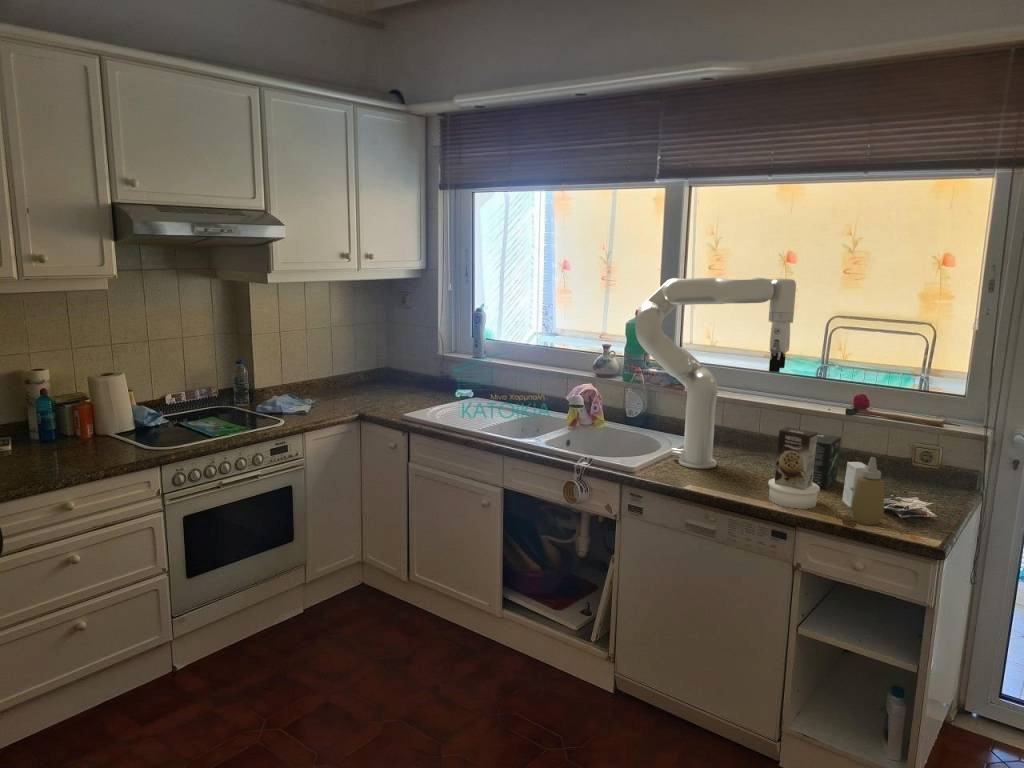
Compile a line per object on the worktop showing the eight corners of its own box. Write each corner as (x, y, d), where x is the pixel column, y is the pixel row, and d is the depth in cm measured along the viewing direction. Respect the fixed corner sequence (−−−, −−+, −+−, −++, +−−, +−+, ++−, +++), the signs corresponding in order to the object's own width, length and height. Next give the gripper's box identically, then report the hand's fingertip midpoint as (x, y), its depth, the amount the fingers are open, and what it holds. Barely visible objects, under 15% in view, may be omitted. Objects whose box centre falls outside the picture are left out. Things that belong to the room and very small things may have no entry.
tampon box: (807, 475, 243) (811, 431, 240) (837, 481, 237) (841, 436, 234) (796, 483, 234) (800, 438, 231) (826, 489, 228) (830, 443, 226)
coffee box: (773, 483, 217) (777, 429, 214) (782, 478, 222) (786, 426, 219) (804, 490, 211) (809, 435, 208) (813, 485, 216) (818, 431, 213)
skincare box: (841, 501, 218) (845, 461, 216) (856, 501, 218) (861, 461, 216) (850, 508, 212) (854, 467, 210) (866, 508, 212) (870, 467, 210)
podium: (763, 504, 215) (764, 487, 214) (771, 490, 227) (772, 474, 226) (814, 512, 208) (816, 495, 207) (820, 498, 220) (822, 482, 219)
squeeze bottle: (887, 522, 202) (894, 458, 199) (875, 529, 197) (883, 464, 193) (856, 514, 208) (863, 451, 204) (844, 521, 202) (851, 457, 199)
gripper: (789, 320, 231) (784, 374, 234) (797, 316, 246) (792, 367, 249) (763, 319, 235) (759, 372, 238) (773, 314, 250) (769, 365, 253)
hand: (776, 369), depth 244 cm, fingers open, 9 cm apart
